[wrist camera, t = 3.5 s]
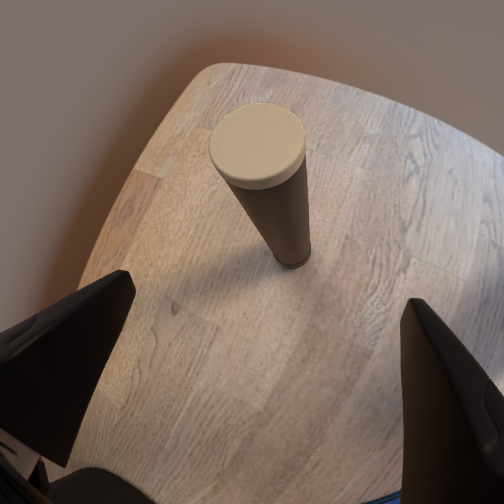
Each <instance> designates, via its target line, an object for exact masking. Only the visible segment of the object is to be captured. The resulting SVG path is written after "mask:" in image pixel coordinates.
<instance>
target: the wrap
mask: <svg viewBox="0 0 504 504" xmlns="http://www.w3.org/2000/svg"><path fill="white" fill-rule="evenodd" d="M49 485H50V490H49V492H48V494H47V496H46V498H47V499H48V500H49V501H51V502H52V503H53V504H154V503H153V502H152V501H150V500H149V499H148V498H147V497H146V496H145V495H143V494H142V493H141V492H139V491H138V490H137V489H135V488H134V487H132V486H131V485H130V484H128V483H126V482H124V481H122V480H120V479H118V478H117V477H115V476H113V475H111V474H108V473H106V472H104V471H102V470H100V469H97V468H83V469H79V470H77V471H75V472H73V473H71V474H69V475H67V476H65V477H62V478H60V479H58V480H56V481H54V482H51V483H49Z"/></svg>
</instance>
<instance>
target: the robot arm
mask: <svg viewBox="0 0 504 504" xmlns="http://www.w3.org/2000/svg"><path fill="white" fill-rule="evenodd" d="M135 295H136V289H135V286H134V283H133V281H132V278H131V276H130V273H129V272H128V271H125V270H116V271H114V272H112V273H110V274H108V275H107V276H105V277H103V278H101V279H99V280H97V281H95V282H93V283H91V284H89V285H87V286H86V287H84V288H82V289H80V290H78V291H76V292H74V293H73V294H71V295H69V296H67V297H65V298H63V299H62V300H60V301H58V302H56V303H54V304H53V305H51V306H49V307H47V308H45V309H44V310H42V311H40V312H39V313H37V314H35V315H33V316H31V317H30V318H28V319H26V320H24V321H22V322H21V323H19V324H17V325H15V326H13V327H11V328H9V329H7V330H5V331H3V332H1V333H0V504H53V503H52V502H51V501H49V500H48V499H47V498H46V496H47V494H48V492H49V490H50V485H49V481H48V477H47V473H46V469H45V464H44V462H43V461H42V460H41V459H39V458H40V456H41V455H42V456H43V457H45V458H47V459H48V460H50V461H52V462H54V463H56V464H57V465H59V466H61V467H63V468H66V466H67V463H68V460H69V457H70V454H71V451H72V448H73V445H74V442H75V440H76V437H77V434H78V431H79V429H80V426H81V423H82V420H83V418H84V415H85V413H86V410H87V408H88V405H89V403H90V400H91V398H92V395H93V393H94V390H95V388H96V386H97V383H98V381H99V379H100V377H101V374H102V372H103V370H104V368H105V365H106V363H107V361H108V359H109V357H110V354H111V352H112V350H113V348H114V346H115V344H116V342H117V340H118V337H119V335H120V333H121V331H122V329H123V326H124V323H125V321H126V318H127V316H128V313H129V310H130V308H131V305H132V303H133V300H134V298H135ZM400 337H401V383H402V398H403V425H404V447H403V473H402V487H401V496H400V504H504V396H503V395H502V393H501V392H500V391H499V389H498V388H497V387H496V386H495V384H494V383H493V381H492V380H491V379H489V376H488V375H487V374H486V372H485V371H484V370H483V368H482V367H481V366H480V365H479V363H478V362H477V361H476V360H475V358H474V357H473V356H472V355H471V353H470V352H469V351H468V350H467V348H466V347H465V346H464V345H463V344H462V342H461V341H460V340H459V339H458V338H457V337H456V335H455V334H454V333H453V332H452V331H451V330H450V328H449V327H448V326H447V325H446V324H445V323H444V322H443V321H442V319H441V318H440V317H439V316H438V315H437V314H436V313H435V312H434V311H433V310H432V308H431V307H430V306H429V305H428V304H427V303H426V302H425V301H424V300H423V299H421V298H410V299H409V300H408V302H407V304H406V307H405V309H404V312H403V315H402V317H401V321H400Z"/></svg>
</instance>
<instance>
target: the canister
mask: <svg viewBox="0 0 504 504" xmlns="http://www.w3.org/2000/svg"><path fill="white" fill-rule="evenodd" d="M305 151H306V145H305V133H304V129H303V126H302V124H301V122H300V121H299V119H298V118H297V117H296V116H295V115H294V114H293V113H292V112H291V111H289V110H288V109H286V108H284V107H282V106H279V105H276V104H271V103H253V104H248V105H245V106H241V107H239V108H237V109H235V110H233V111H231V112H230V113H228V114H227V115H225V116H224V117H223V118H222V119H221V120H220V121H219V122H218V123H217V125H216V126H215V128H214V129H213V131H212V133H211V136H210V139H209V156H210V159H211V161H212V163H213V165H214V166H215V168H216V169H217V171H218V172H219V174H220V175H221V176H222V177H223V178H224V180H225V181H226V183H227V184H228V186H229V187H230V189H231V190H232V192H233V193H234V195H235V196H236V198H237V199H238V201H239V202H240V204H241V205H242V207H243V208H244V210H245V211H246V213H247V214H248V216H249V217H250V219H251V220H252V222H253V223H254V225H255V226H256V228H257V229H258V231H259V232H260V234H261V235H262V237H263V238H264V240H265V242H266V243H267V245H268V246H269V248H270V249H271V251H272V252H273V255H274V257H275V258H276V260H277V261H278V262H279V263H280V264H281V265H282V266H284V267H286V268H298V267H300V266H302V265H304V264H305V263H306V262H307V260H308V259H309V257H310V253H311V243H310V229H309V204H308V185H307V169H306V155H305Z"/></svg>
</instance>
